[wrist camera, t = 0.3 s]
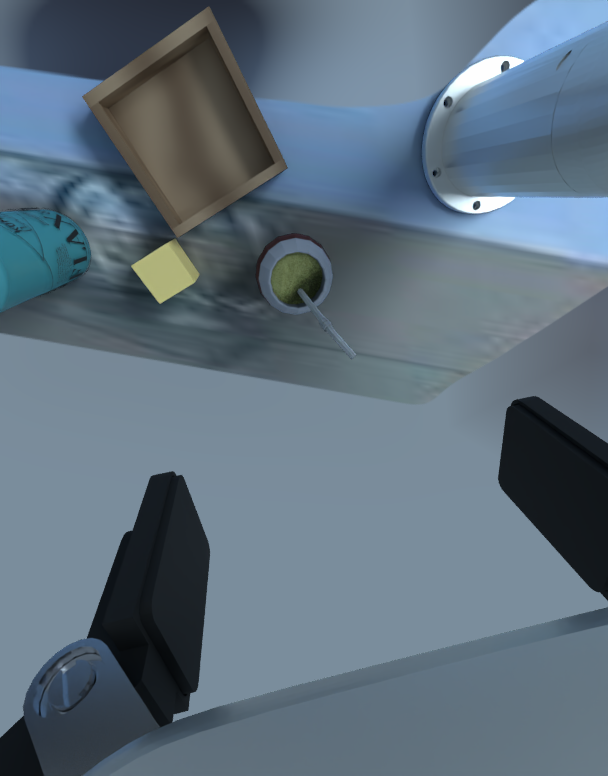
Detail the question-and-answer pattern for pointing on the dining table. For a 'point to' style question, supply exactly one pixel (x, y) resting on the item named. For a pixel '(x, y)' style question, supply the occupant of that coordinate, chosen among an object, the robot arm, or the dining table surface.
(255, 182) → the tray
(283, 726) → the robot arm
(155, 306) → the dining table surface
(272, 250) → the mate gourd
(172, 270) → the pale yellow cube
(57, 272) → the beverage bottle
